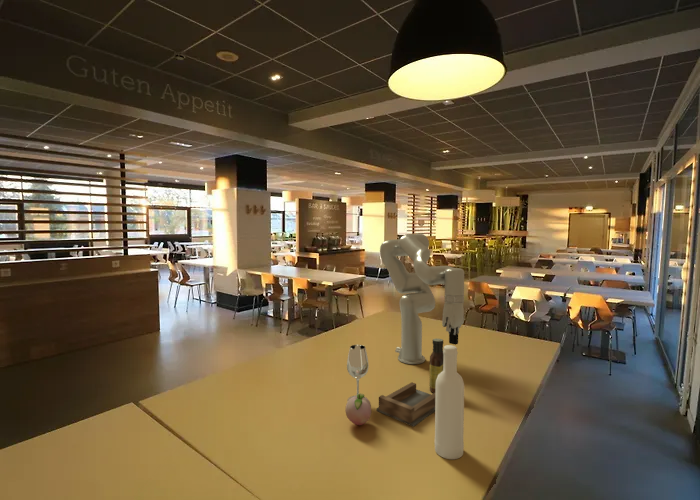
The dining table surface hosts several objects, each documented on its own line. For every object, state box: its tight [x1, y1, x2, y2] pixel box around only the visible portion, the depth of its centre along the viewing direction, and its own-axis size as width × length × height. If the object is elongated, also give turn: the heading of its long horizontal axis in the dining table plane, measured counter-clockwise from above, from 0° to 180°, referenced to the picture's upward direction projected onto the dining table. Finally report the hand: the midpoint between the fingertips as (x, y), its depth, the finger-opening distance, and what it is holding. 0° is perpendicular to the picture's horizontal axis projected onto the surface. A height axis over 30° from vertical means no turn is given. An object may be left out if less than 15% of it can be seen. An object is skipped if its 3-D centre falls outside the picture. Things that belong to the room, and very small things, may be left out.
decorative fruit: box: [344, 392, 372, 426], centre depth 119 cm, size 9×8×10 cm
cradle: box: [375, 382, 435, 428], centre depth 131 cm, size 15×22×5 cm
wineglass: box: [346, 344, 370, 402], centre depth 135 cm, size 8×8×20 cm
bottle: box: [434, 344, 465, 460], centre depth 104 cm, size 8×8×30 cm
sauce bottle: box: [428, 338, 444, 394], centre depth 143 cm, size 7×6×20 cm
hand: (453, 343), depth 151 cm, fingers closed
